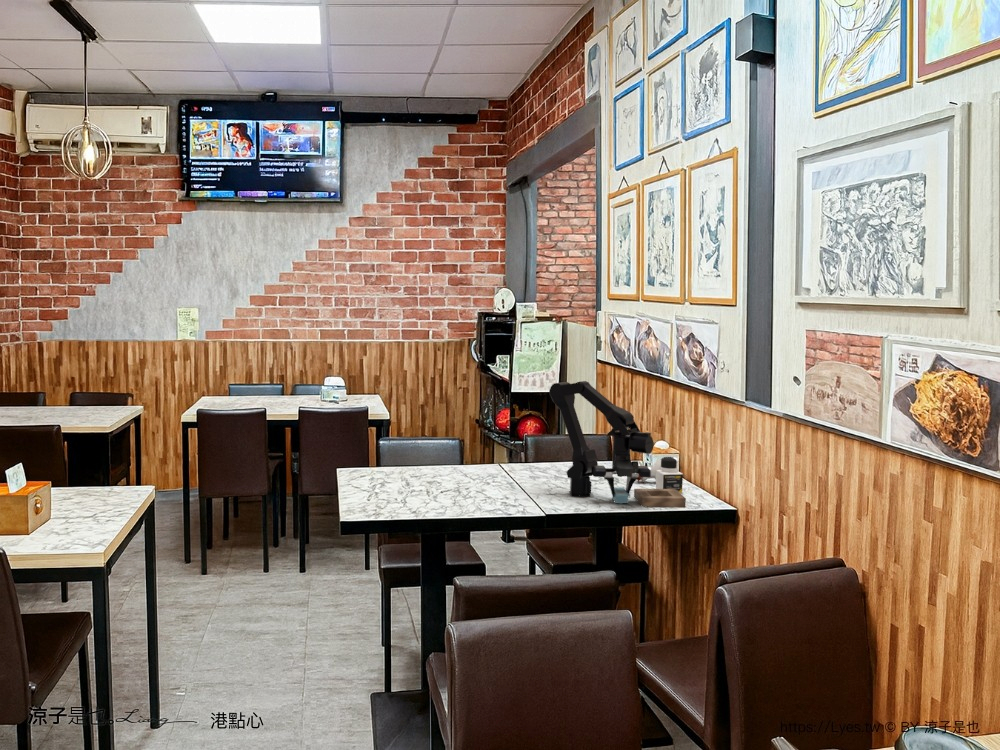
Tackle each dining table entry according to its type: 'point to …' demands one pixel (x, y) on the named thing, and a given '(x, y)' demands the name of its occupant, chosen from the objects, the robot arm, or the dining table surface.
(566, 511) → the dining table surface
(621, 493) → the block
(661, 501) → the brown square frame
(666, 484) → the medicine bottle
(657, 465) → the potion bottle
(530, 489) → the dining table surface
